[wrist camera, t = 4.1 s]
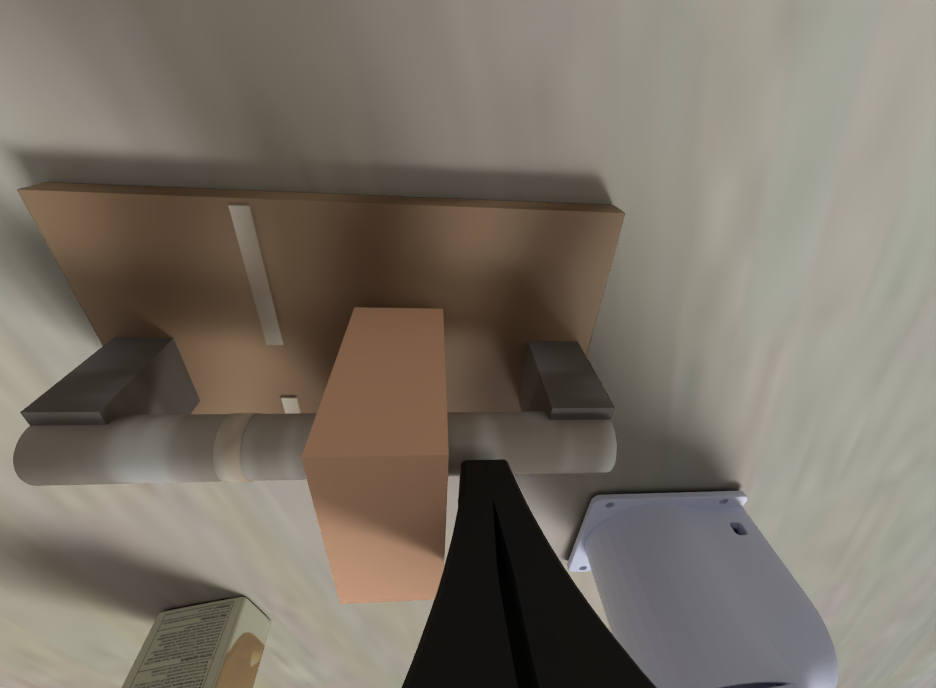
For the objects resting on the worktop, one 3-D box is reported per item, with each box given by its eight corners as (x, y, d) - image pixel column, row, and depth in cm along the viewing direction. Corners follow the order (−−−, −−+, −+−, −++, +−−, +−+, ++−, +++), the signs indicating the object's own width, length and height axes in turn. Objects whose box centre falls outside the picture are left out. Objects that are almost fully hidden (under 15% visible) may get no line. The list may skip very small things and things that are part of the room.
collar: (443, 308, 14) (448, 454, 8) (440, 438, 17) (442, 598, 12) (354, 307, 13) (301, 457, 8) (369, 439, 17) (339, 603, 12)
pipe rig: (613, 204, 14) (712, 273, 9) (549, 457, 21) (584, 571, 16) (46, 182, 12) (-219, 249, 7) (189, 464, 19) (106, 593, 14)
